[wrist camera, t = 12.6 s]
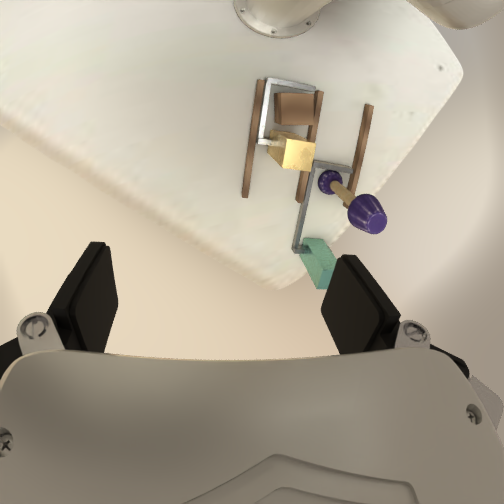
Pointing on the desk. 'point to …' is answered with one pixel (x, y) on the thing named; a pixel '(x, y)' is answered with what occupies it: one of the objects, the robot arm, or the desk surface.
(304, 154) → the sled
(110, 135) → the desk surface
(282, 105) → the walnut cube
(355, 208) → the toy lamp
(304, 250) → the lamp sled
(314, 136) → the lane rails
